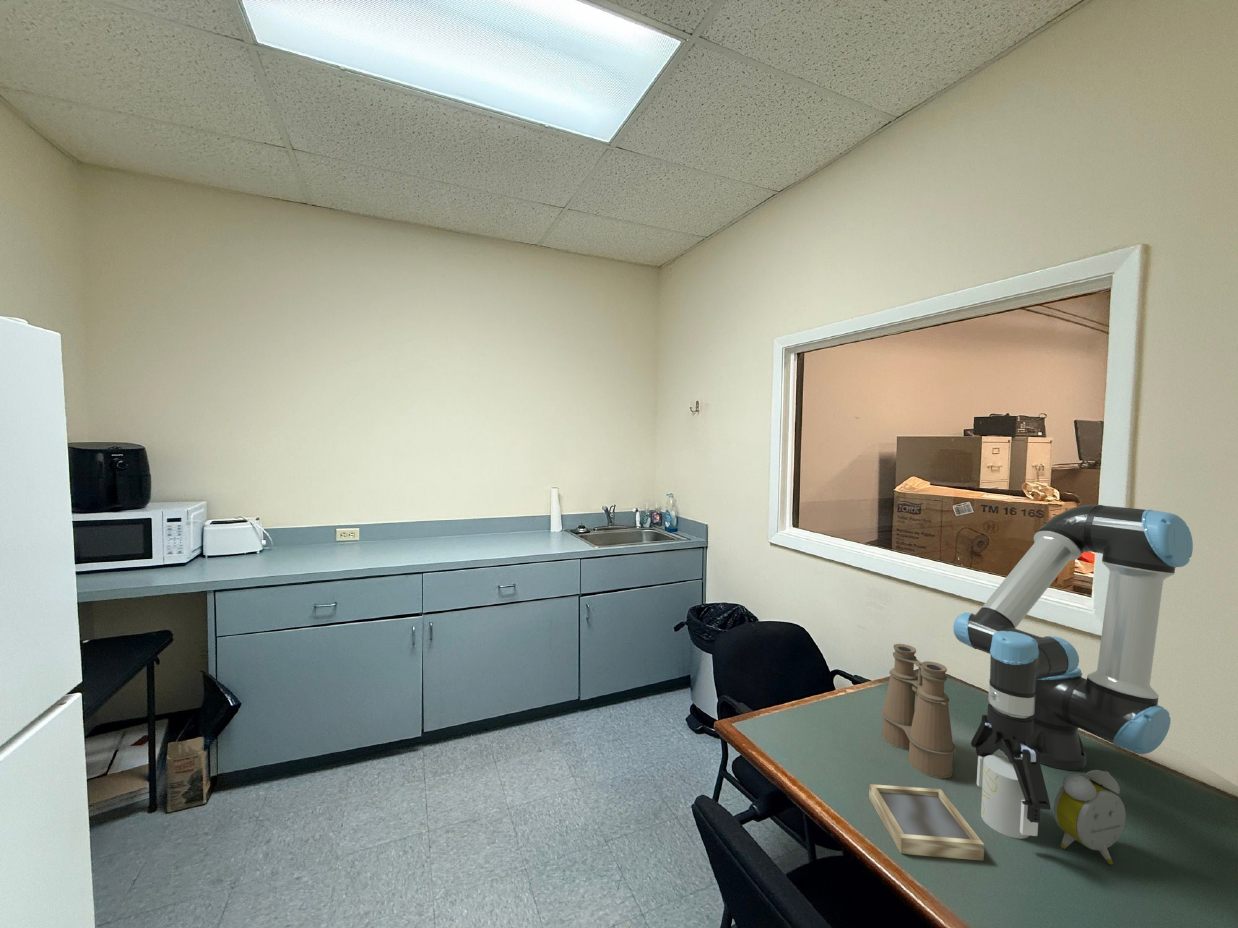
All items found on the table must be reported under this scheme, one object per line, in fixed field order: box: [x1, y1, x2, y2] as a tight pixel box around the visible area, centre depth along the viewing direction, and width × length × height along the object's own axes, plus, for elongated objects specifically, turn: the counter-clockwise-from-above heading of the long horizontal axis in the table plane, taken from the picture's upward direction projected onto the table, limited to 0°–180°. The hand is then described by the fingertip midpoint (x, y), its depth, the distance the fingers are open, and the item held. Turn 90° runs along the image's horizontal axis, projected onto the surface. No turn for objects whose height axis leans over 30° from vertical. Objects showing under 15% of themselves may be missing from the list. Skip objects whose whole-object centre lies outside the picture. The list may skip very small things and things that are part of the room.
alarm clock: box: [1053, 769, 1127, 865], centre depth 97 cm, size 12×7×15 cm, turn 103°
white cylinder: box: [980, 754, 1031, 840], centre depth 104 cm, size 8×8×12 cm
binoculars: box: [880, 643, 956, 779], centre depth 127 cm, size 21×10×25 cm, turn 6°
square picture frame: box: [868, 783, 985, 862], centre depth 103 cm, size 15×15×3 cm
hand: (1004, 808), depth 104 cm, fingers open, 13 cm apart
